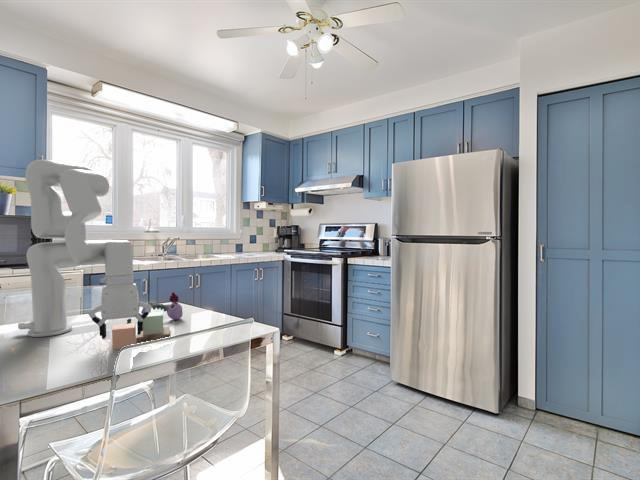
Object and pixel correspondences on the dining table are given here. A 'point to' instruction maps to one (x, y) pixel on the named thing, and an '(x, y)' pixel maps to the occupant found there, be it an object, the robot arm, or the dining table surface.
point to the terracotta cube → (123, 335)
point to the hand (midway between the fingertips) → (122, 335)
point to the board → (153, 335)
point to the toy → (169, 308)
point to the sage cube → (153, 323)
